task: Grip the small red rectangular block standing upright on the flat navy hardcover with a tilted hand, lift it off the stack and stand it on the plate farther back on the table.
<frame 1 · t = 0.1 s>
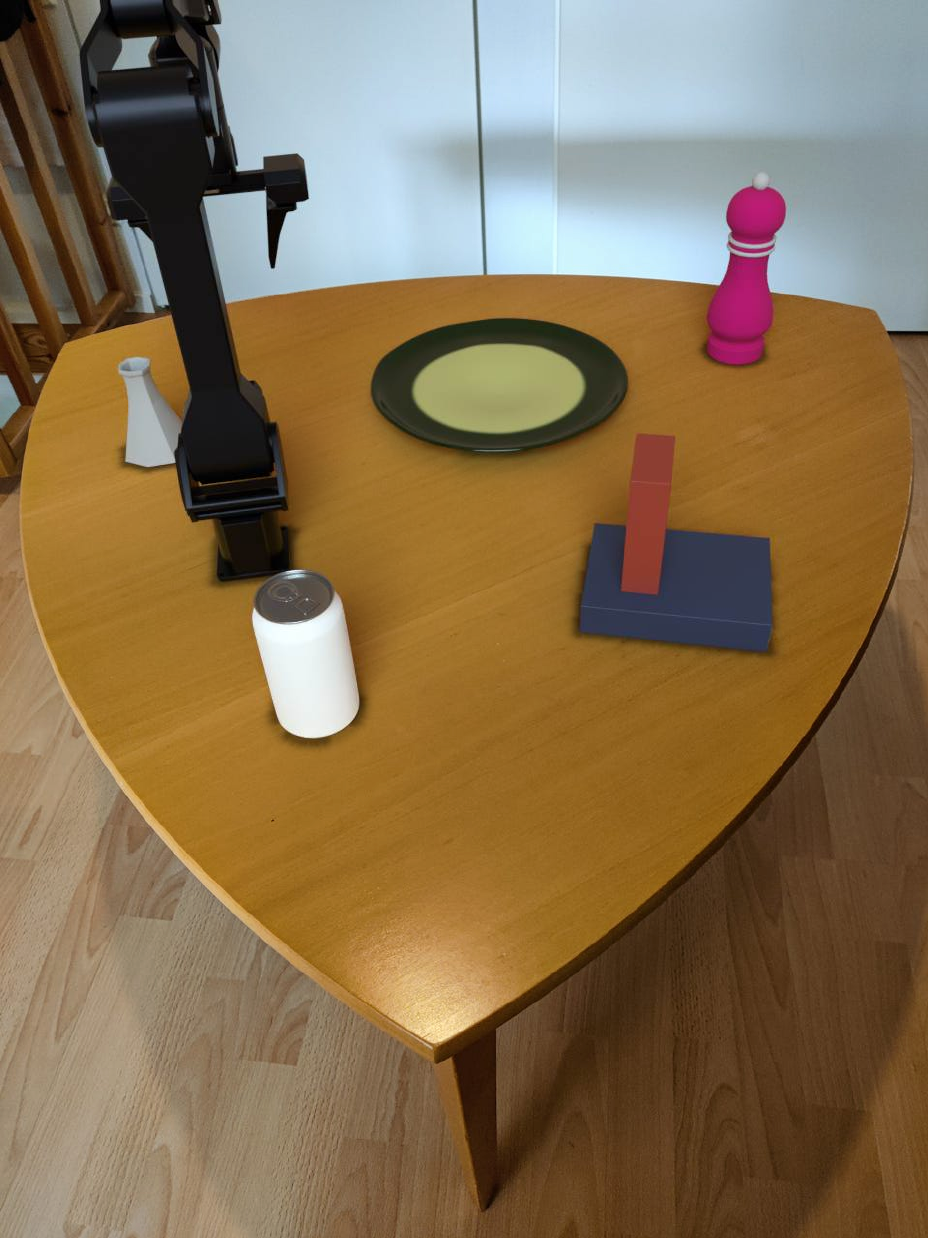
hand: (227, 271, 102), 15 cm above the table, tool pointing down, fingers open, 9 cm apart
can: (319, 711, 78), on the table
red rectangular block: (642, 567, 83), point 3 cm above the table, touching navy hardcover
flask: (160, 451, 105), on the table
plate: (498, 397, 110), on the table
pepper mill: (734, 353, 115), on the table
navy hardcover: (674, 597, 85), on the table, touching red rectangular block
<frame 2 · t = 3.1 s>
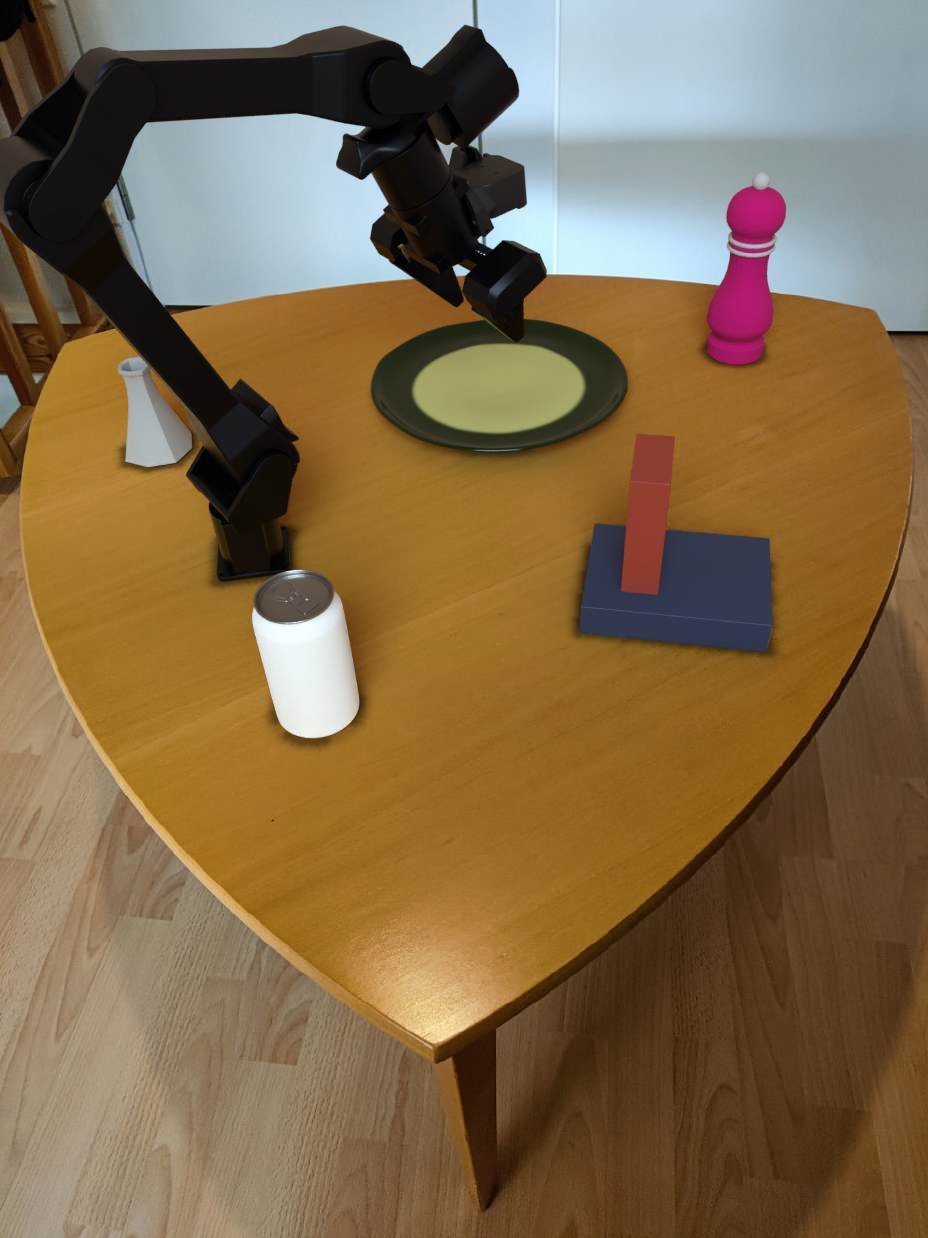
hand: (488, 320, 93), 14 cm above the table, tool tilted 25°, fingers open, 9 cm apart
nothing on the table moved.
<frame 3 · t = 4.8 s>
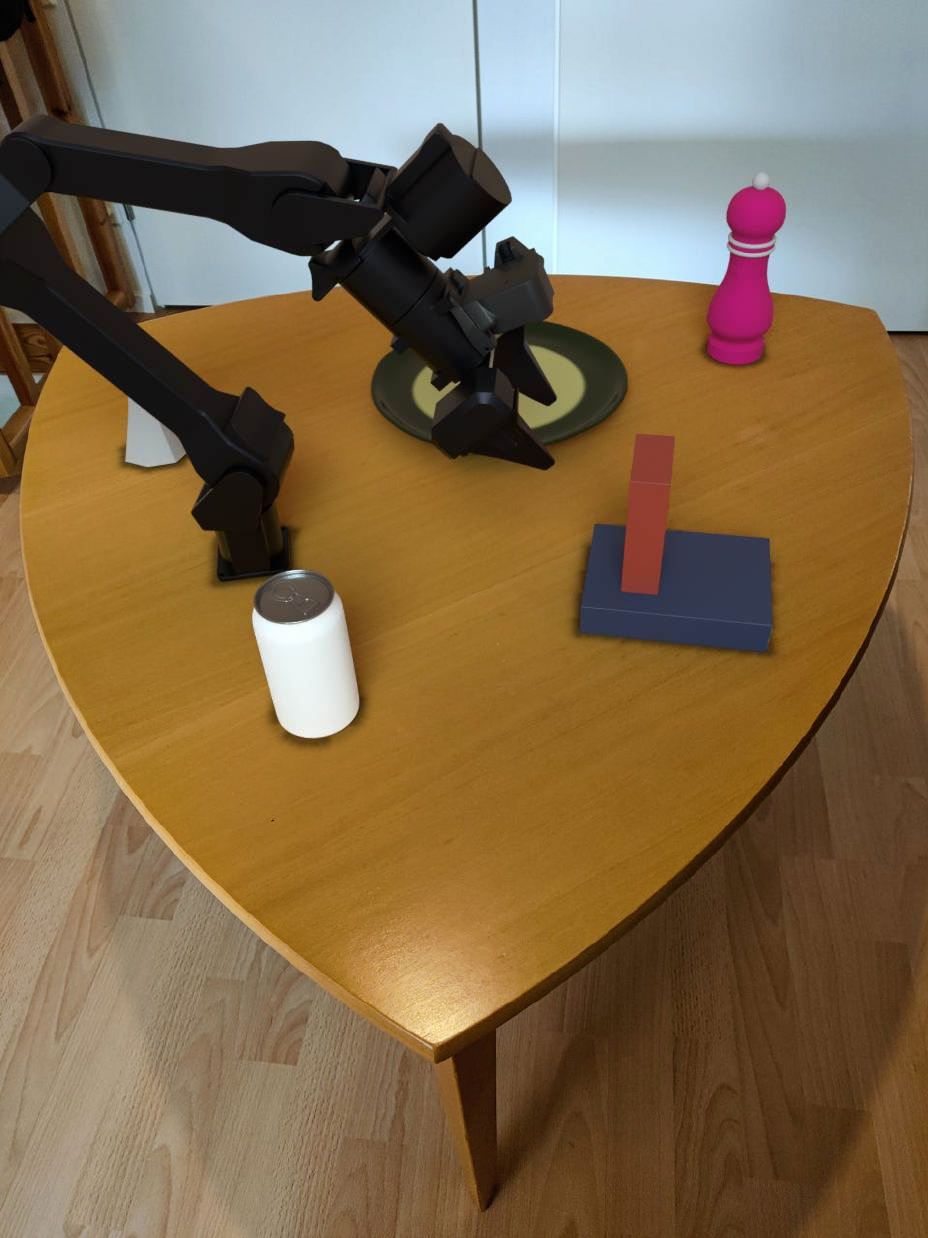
hand: (551, 432, 80), 14 cm above the table, tool tilted 40°, fingers open, 9 cm apart
nothing on the table moved.
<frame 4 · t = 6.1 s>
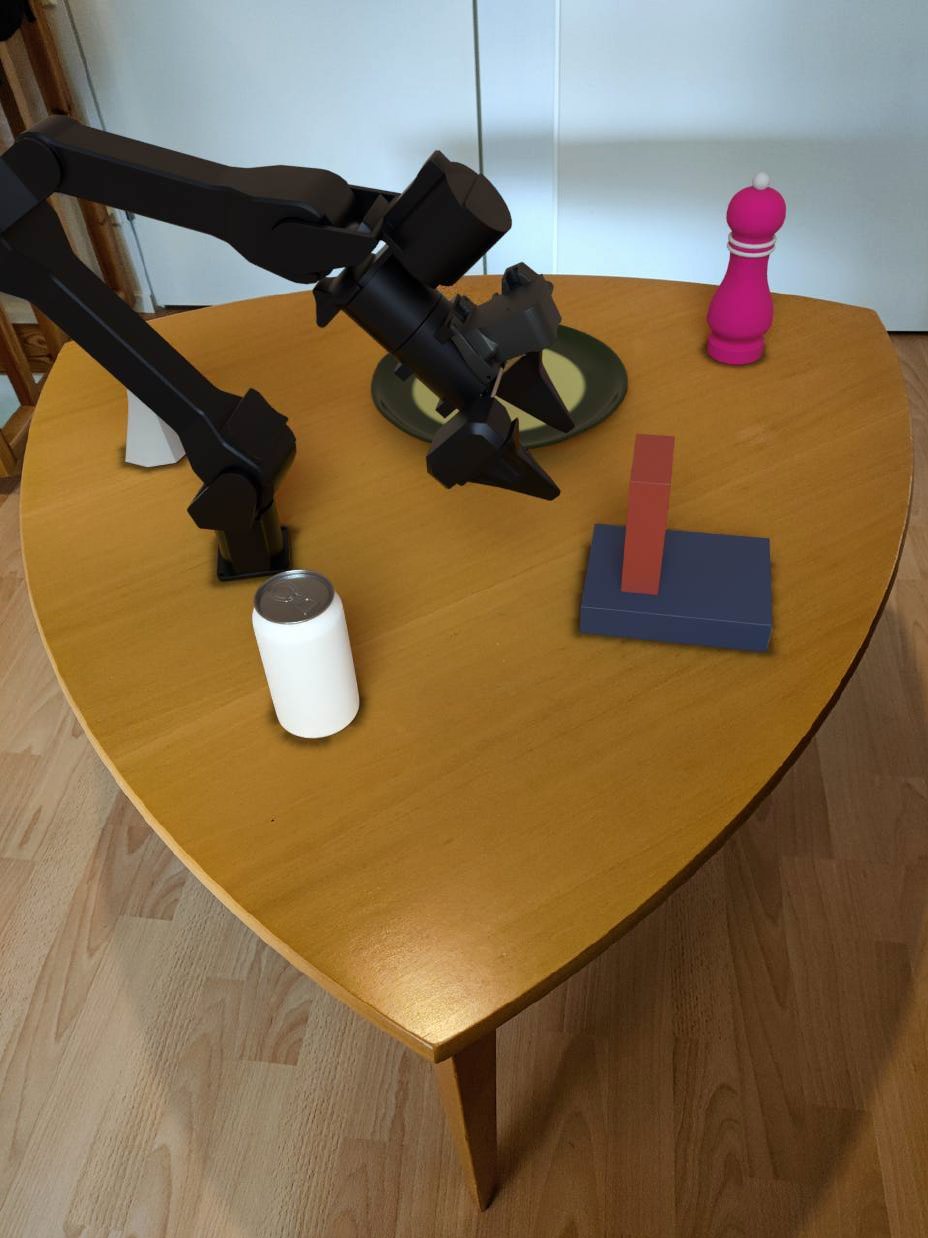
hand: (564, 461, 78), 13 cm above the table, tool tilted 45°, fingers open, 9 cm apart
nothing on the table moved.
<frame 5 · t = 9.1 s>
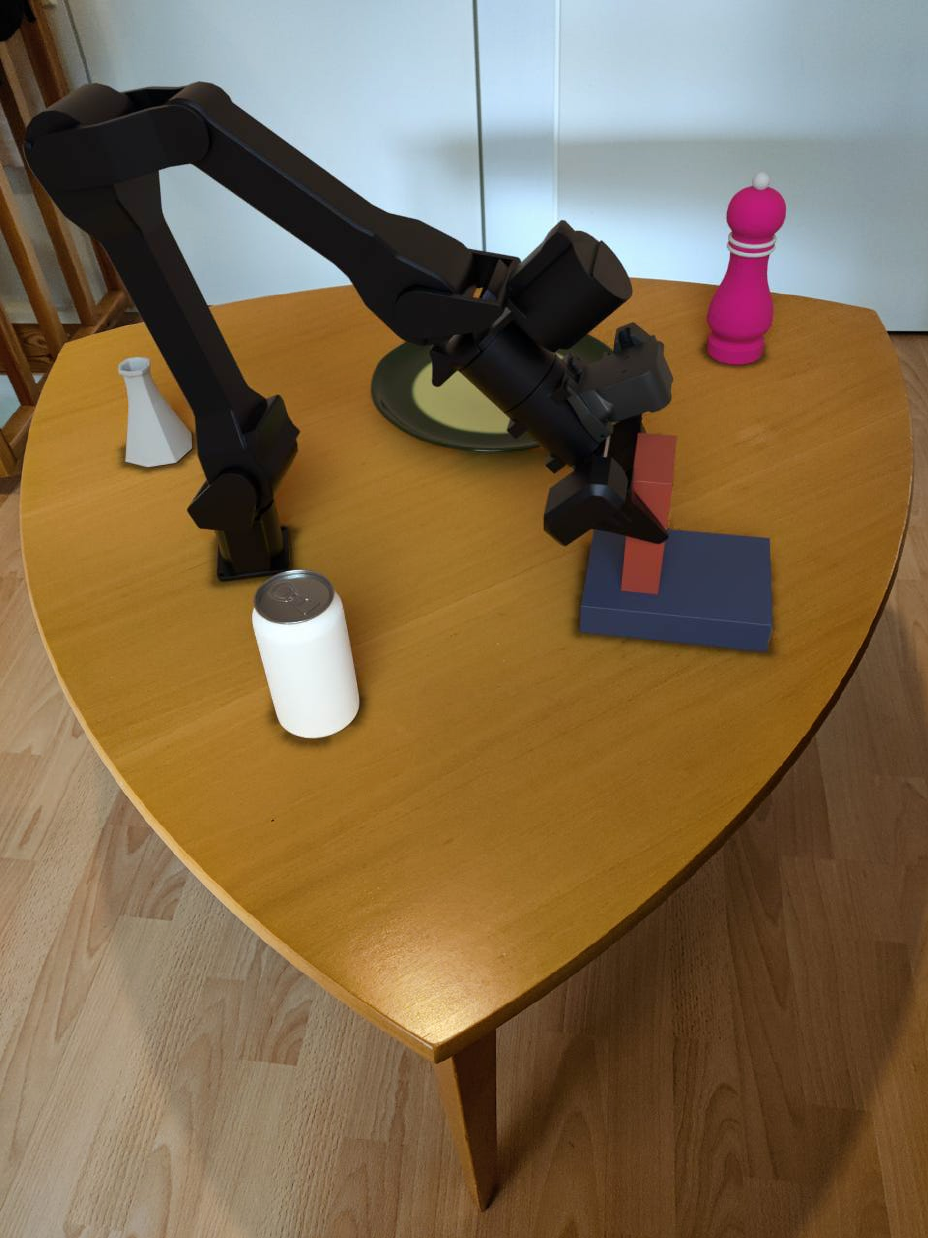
hand: (666, 513, 79), 9 cm above the table, tool tilted 45°, fingers closed on red rectangular block, 6 cm apart
red rectangular block: (642, 567, 83), point 3 cm above the table, touching gripper, navy hardcover
everything else where it was.
when the fingers open (8 cm above the table, at t = 26.1 s): red rectangular block stays where it is, resting on plate.
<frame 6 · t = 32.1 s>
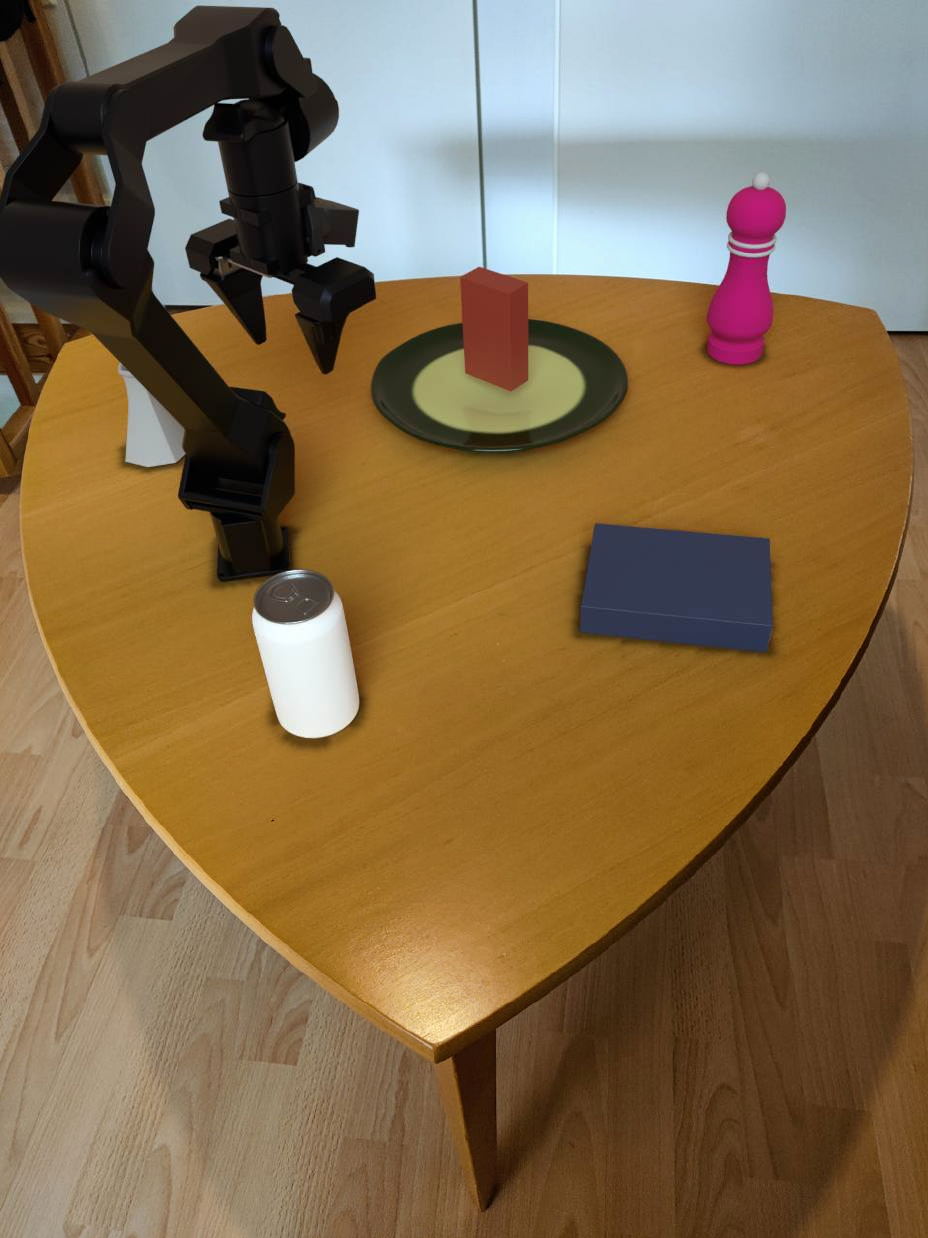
hand: (293, 357, 92), 13 cm above the table, tool pointing down, fingers open, 9 cm apart
red rectangular block: (496, 376, 108), point 3 cm above the table, touching plate
plate: (498, 397, 110), on the table, touching red rectangular block
navy hardcover: (674, 597, 85), on the table
everything else where it was.
at the end: red rectangular block inside the target area on the plate (0.2 cm from its centre), point 2.7 cm above the plate's base; red rectangular block tilted 0°; navy hardcover moved 0.0 cm from its start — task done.
